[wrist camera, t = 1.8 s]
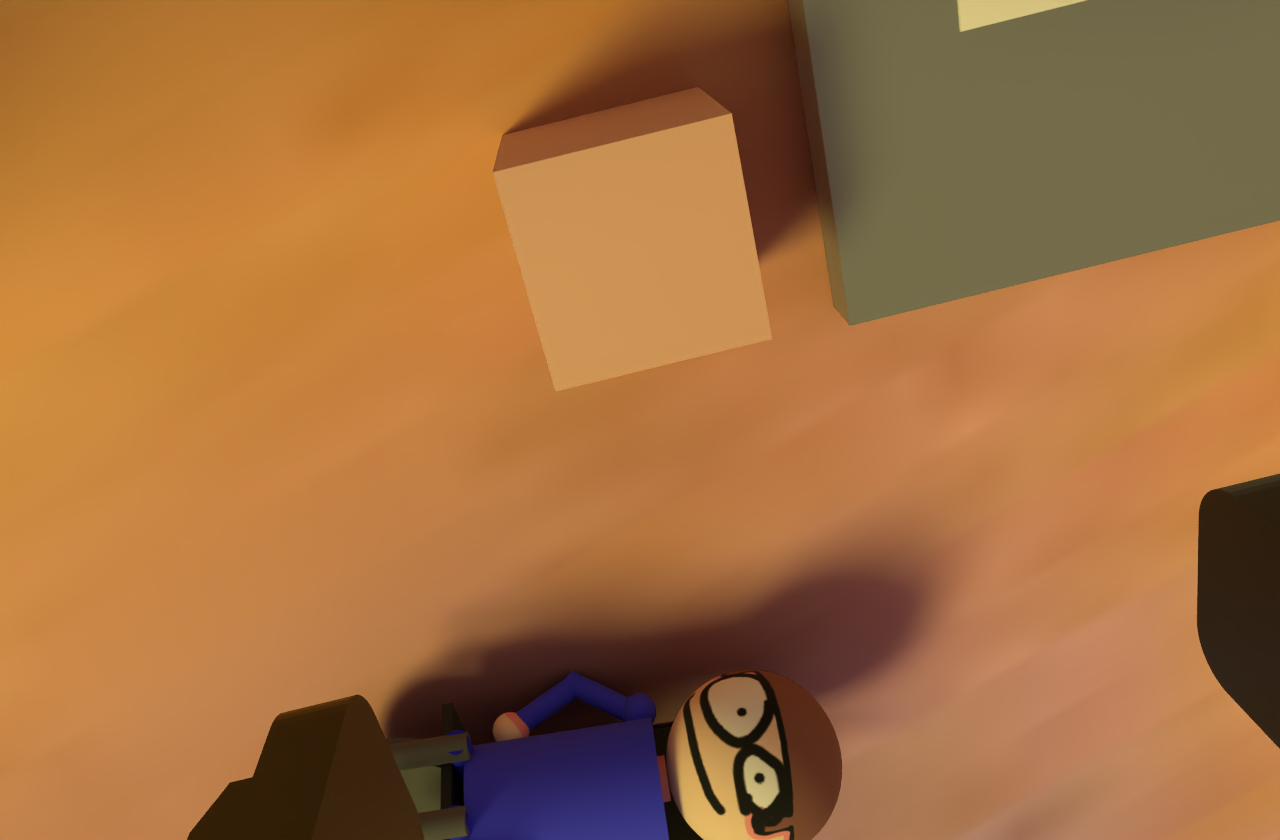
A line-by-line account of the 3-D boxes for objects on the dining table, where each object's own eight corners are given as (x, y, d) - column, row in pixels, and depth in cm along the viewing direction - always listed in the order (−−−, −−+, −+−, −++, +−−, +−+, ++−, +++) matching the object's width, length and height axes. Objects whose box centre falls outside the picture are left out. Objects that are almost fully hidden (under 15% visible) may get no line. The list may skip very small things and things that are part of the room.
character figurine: (330, 669, 31) (801, 602, 32) (376, 849, 34) (811, 785, 34) (263, 856, 24) (876, 765, 25) (329, 1069, 26) (883, 981, 27)
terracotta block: (554, 319, 27) (555, 391, 22) (502, 134, 25) (492, 172, 20) (733, 275, 27) (772, 338, 22) (698, 86, 25) (731, 113, 20)
